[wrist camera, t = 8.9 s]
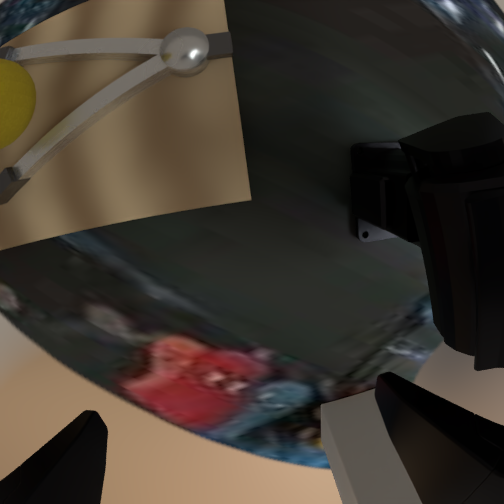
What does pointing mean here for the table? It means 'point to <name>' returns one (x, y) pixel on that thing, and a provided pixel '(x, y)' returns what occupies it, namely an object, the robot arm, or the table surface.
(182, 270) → the table surface
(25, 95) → the lemon
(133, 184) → the board
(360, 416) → the milk
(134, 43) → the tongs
